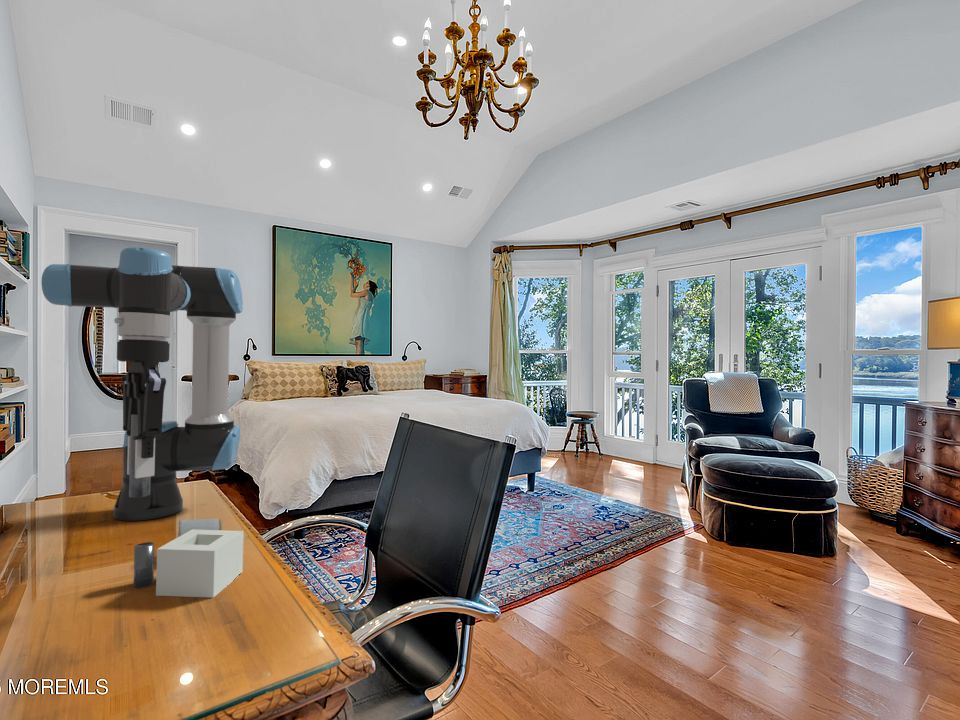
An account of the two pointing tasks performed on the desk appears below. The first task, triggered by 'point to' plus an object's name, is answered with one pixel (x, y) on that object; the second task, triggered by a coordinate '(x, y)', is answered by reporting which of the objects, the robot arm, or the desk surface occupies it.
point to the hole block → (199, 563)
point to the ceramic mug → (199, 525)
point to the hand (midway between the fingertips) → (140, 474)
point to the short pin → (143, 565)
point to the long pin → (136, 485)
